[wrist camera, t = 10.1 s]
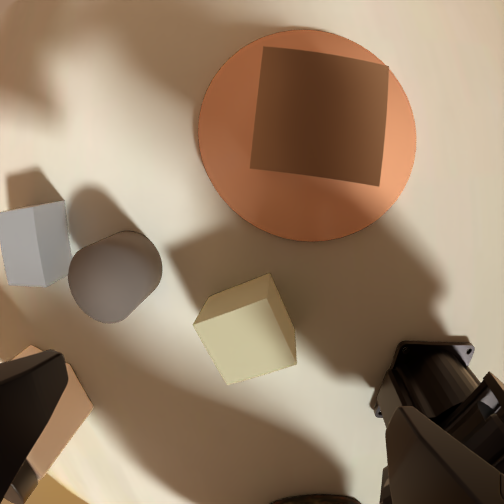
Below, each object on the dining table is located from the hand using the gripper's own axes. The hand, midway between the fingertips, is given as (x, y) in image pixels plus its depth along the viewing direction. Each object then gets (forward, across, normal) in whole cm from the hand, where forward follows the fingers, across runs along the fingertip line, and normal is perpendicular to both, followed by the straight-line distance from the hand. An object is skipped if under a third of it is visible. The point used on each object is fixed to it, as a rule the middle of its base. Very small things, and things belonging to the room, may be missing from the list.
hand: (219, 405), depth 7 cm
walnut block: (+11, -2, -8) cm, 14 cm away
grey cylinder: (+12, +8, +1) cm, 15 cm away
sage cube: (+12, 0, +3) cm, 12 cm away
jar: (+12, +17, +14) cm, 25 cm away
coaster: (+12, -2, -8) cm, 15 cm away
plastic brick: (+12, +15, 0) cm, 19 cm away
